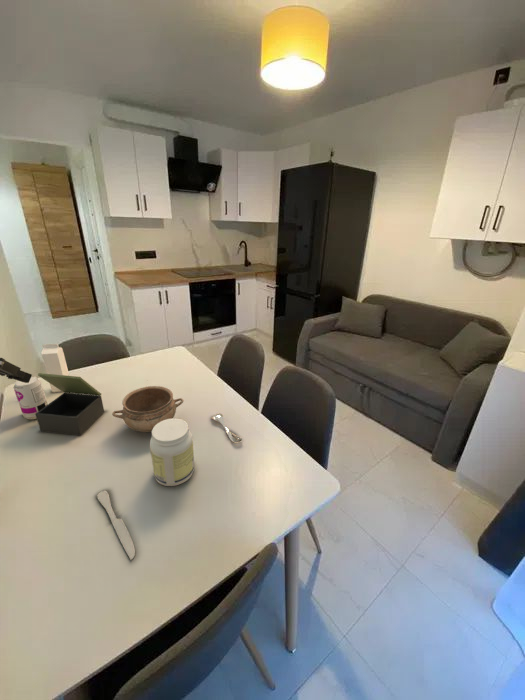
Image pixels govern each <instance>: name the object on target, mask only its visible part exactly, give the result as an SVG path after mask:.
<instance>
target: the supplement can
mask: <svg viewBox="0 0 525 700" xmlns="http://www.w3.org/2000/svg"><path fill="white" fill-rule="evenodd" d="M13 384H14V385H13V391H14V393H15V396H16V399H17V402H18V405H19V407H20V410H21V414H22V417H23V418H24V419H26V420H37V418H36V415H35V414H36V413H37V412H39V411H40V410H41V409H43V408H44V407H45V406H47V405H48V404H49V403H48V400H47V397H46V394H45V389H44V387H43V384H42V381H41V380H40V378H38V377H37V376H33V375H32V376H31V378H30V381H29V383H24V382H21V381H18V380H15V382H14V383H13Z"/></svg>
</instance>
